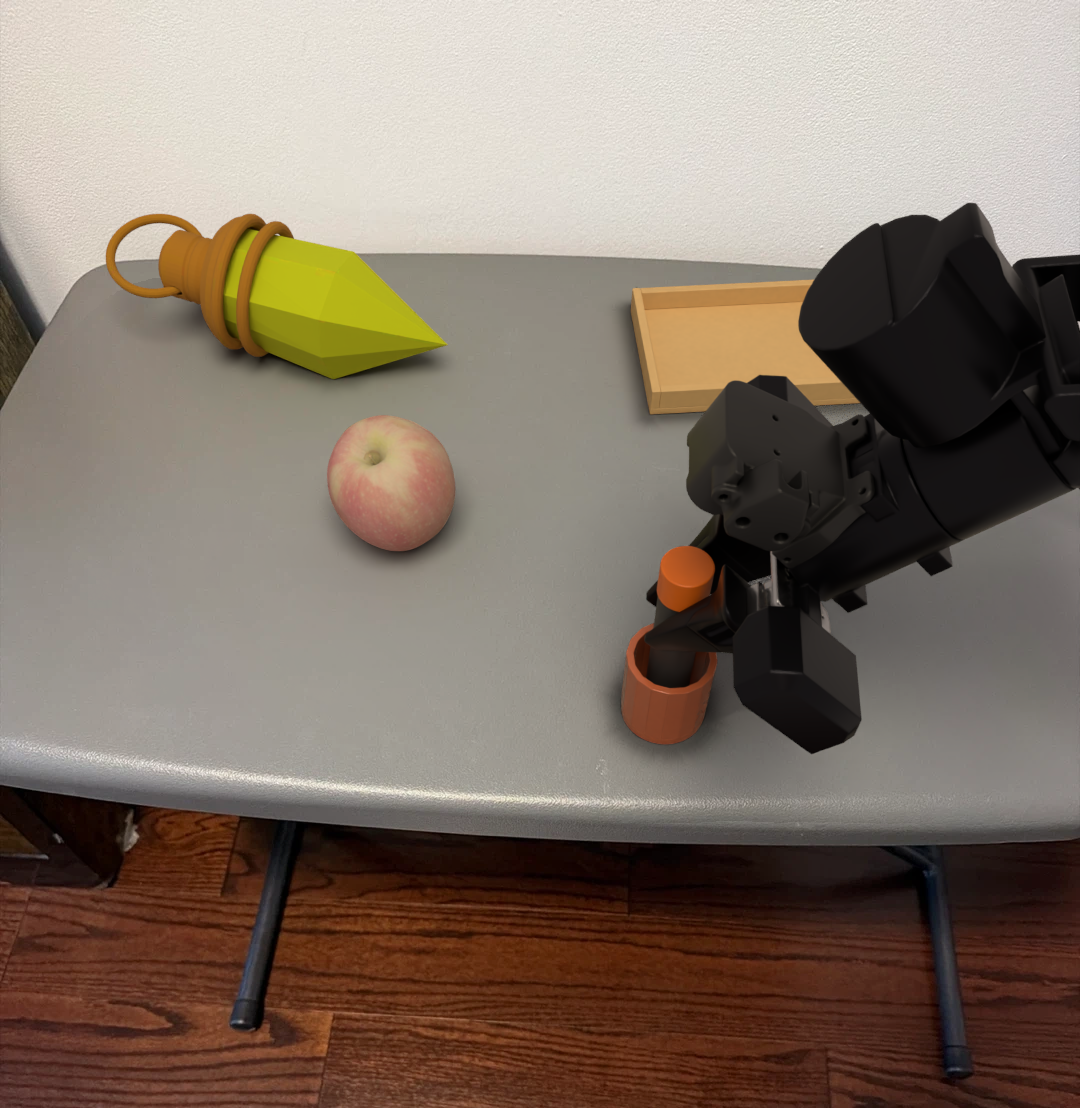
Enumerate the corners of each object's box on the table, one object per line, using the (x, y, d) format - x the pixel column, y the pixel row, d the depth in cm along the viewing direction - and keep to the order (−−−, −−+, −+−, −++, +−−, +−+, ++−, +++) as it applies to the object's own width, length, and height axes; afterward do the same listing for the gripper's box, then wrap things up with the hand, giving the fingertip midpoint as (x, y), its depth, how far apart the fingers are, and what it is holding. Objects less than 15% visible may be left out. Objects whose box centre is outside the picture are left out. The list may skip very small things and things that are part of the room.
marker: (682, 683, 62) (710, 543, 52) (689, 721, 61) (719, 585, 51) (638, 686, 62) (657, 546, 52) (643, 724, 61) (664, 588, 51)
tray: (830, 301, 81) (836, 277, 80) (865, 403, 76) (872, 380, 74) (630, 311, 81) (632, 287, 79) (649, 414, 75) (652, 392, 73)
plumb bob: (469, 333, 80) (154, 239, 81) (468, 246, 72) (115, 142, 73) (429, 434, 78) (104, 336, 79) (423, 356, 69) (57, 246, 70)
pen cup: (697, 672, 63) (709, 617, 59) (710, 741, 61) (723, 690, 56) (616, 677, 63) (622, 623, 59) (626, 747, 61) (632, 696, 56)
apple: (329, 498, 71) (307, 403, 64) (443, 475, 72) (433, 379, 65) (352, 589, 67) (330, 498, 60) (472, 563, 68) (464, 470, 61)
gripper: (815, 214, 46) (554, 403, 56) (845, 548, 36) (520, 706, 46) (945, 373, 52) (689, 518, 62) (1001, 695, 42) (686, 806, 52)
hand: (650, 621), depth 55 cm, fingers closed on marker, 2 cm apart
